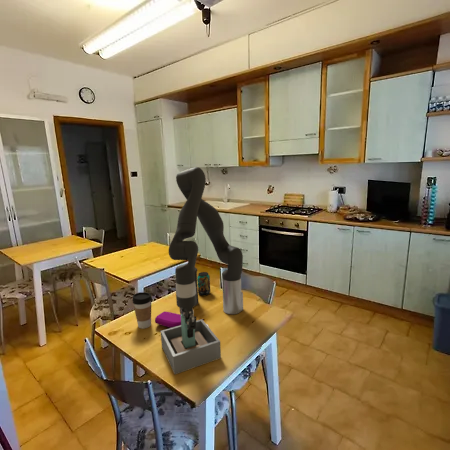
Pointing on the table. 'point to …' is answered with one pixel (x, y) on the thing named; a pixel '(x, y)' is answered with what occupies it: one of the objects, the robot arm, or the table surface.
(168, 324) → the spray bottle
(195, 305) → the container
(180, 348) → the plate
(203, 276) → the beverage can
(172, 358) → the crate
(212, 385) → the table surface
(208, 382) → the table surface
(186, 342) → the peg
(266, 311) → the table surface
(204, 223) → the robot arm
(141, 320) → the coffee cup
